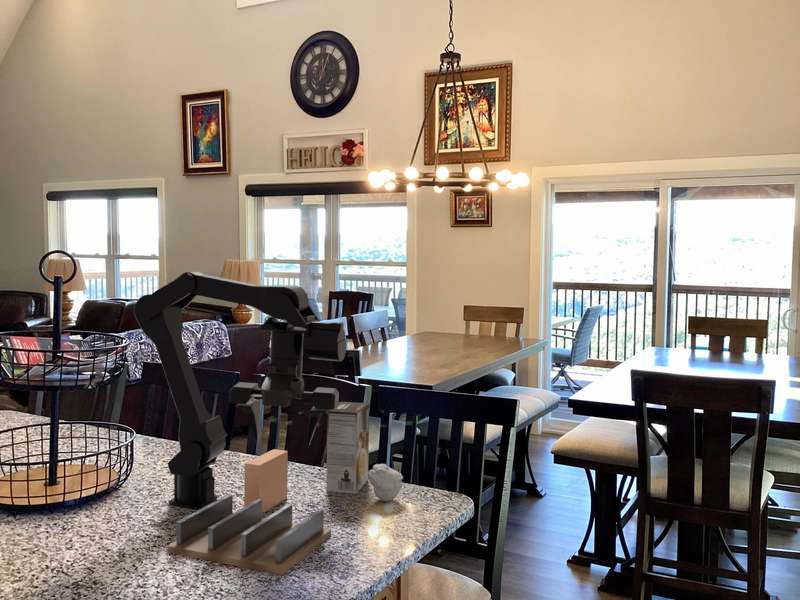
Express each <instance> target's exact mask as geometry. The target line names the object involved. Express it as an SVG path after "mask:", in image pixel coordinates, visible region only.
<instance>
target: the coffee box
mask: <svg viewBox="0 0 800 600" xmlns="http://www.w3.org/2000/svg"><path fill="white" fill-rule="evenodd" d="M326 414H327V415H326V416H327V417H326V419H327V420H326V425H327V427H326V490H325V491H326V492H330V493H341V494H342V493H344V494H354V495H355V494H356V493H357V494H358V492H360V490H361V489H362V488H363V486H365V484H366V483H367V481H369V480H368V476H369V475H368V474H367V472H369V446H370V445H369V444H370V441H369V438H370V437H369V436H370V433H369V432H370V402H369V403H368V402H354V401H353V402H352V401H339V403H338V405H337V406H336V408H335V409H333V410H329V411H328V413H326ZM357 494H356V495H357Z"/></svg>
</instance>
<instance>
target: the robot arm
mask: <svg viewBox="0 0 800 600" xmlns="http://www.w3.org/2000/svg"><path fill="white" fill-rule="evenodd" d="M198 296H200V297H206V298H208V299H215V300H220V301H224V302H231V303H234V304H239V305H244V306H249V307H251V308H254V309H256V310H257V311H259V312H261V313H263V314H265V315H267V316H269V317H267V320H266V321H265V322H263V323H262V324H261V325H260V326H259V327H258V328H259V330H260V331H269V332H270V344H269V345H270V349H269V363H268V369H267V370H268V371H267V374H266V377H265V378H264V381H263V383H262V385H261V387H260V386H259V383H256V382H240V381H239V382H237V383H236V384H235V385H233V386H232V387H231V388H229V391H228V403H230V404H235V407H236V409H240V410H242V412H244V414H245V416H246V417H247V420H248V422H249V425H250V429H251V432H252V436H253V438H254V441H255V443H258V442H259V441H260V435H261V418H260V417H261V404H262V406H265V407H270V406H275V407H280V408H287V407H290V405H291V403H292V402H295V403H296V402H298V403H310V404H311V405H312V408H311V409H310V410H309V420H308V426H307V435H306V446H310V445H311V443H312V442H311V441H312V439H313V437H314V435H315V431H316V428H317V426H318V424H319V421H320V419H321V417H322V415H325V414H327V413H328V411H329V410H333V409H335V408H336V406H337V405H338V403H339V402H340V401H339V399H340V398H339V397H340V391H338V389H337V388H332V387H316V388H315V389H314V390H313V391H305V381H304V378H303V356H304V355H306V356H308V358H309V359H310V360H319V361H320V360H322V361H332V362H333V361H334V362H343V361H344V359H345V356H346V352H347V346H348V345H347V344H348V339H347V336H346V331H345V329H344V325H345V324H344V322H343V321H332V322H329V321H321V320H320V319H319V318H318V316H317V314H316V313H315V311H314V310H313V308H312V307H311V305H310V302H309V301H310V300H309V296H308V294H307V292H306V291H305V288H302V287H301V286H299V285H291V284H290V285H287V284H285V285H284V284H283V285H282V284H281V285H280V284H278V285H277V284H276V285H275V284H274V285H272V284H271V285H269V284H268V285H267V284H266V285H263V284H262V285H260V284H254V283H249V282H245V281H240V280H239V281H238V280H234V279H230V278H225V277H221V276H219V277H218V276H215V275H210V274H205V273H202V272H201V271H187V272H183V273H181V274H180V275H179V276H177V278H176V279H174V280H172V281H171V282H169V283H167V284H165V285H163V286H161V287H160V288H158V289H156V290H155V291H153V292H152V293H150V294H144V295H142V296H140V297H139V298H138V300H137V301H136V303H135V305H134V306H133V313H134V314H133V315H134V318H135V319H136V321H137V323H138V325H139V326H140V329H141V330H142V332H143V334H145V336H146V337H147V338H148V339H149V340H150V341H151V342H152V344H154V347H155V348H156V351H157V354H158V358H159V361H160V363H161V367H162V369H163V371H164V375H165V379H166V380H167V384H168V387H169V390H170V393H171V397H172V399H173V401H174V404H175V409H176V410H177V411H176V412H177V414H178V418H179V428H178V436H177V437H178V442H179V443H178V444H179V449H180V450H179V451H178V452H177V453H176V454H175V455H174V456H173V457H172V458H171V459H170V460H169V461H168V462H167V466H168V470H169V473H170V475H173V478H174V479H173V497H174V498H172V499H170V500H168V504H169V505H172V506H178V507H184V508H189V509H198V510H199V509H201V507H202V508H203V507H205V506H207V505H209V504H211V503H212V502H214V501H216V500H218V498H219V497H218V495H217V494H215V481H216V480H215V479H216V478H215V476H213V475H214V474H213V473H214V469H213V467H210V466H212V465H214V464H216V461H217V459H218V456H220V455H221V454H222V453H223V451H224V449H225V448H226V444H227V440H226V437H227V436H228V433H227V432H226V431H225V430H226V429H225V428H224V425H223V420H222V417H221V415H216V416H214V417H213V416H212V415H211V413H210V412H209V411H208V410H207V409H206V407H205V403H204V401H203V397H202V394H201V392H200V388H199V385H198V382H197V378H196V377H195V373H194V371H193V368H192V364H191V362H190V358H189V356H188V352H187V349H186V347H185V343H184V340H183V337H182V334H183V328H184V327H183V326H184V317H183V312H182V310H184V309H185V308H186V307H188V306H189V305H191V303H192V301H194V300H195V298H196V297H198Z"/></svg>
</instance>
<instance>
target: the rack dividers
mask: <svg viewBox="0 0 800 600" xmlns="http://www.w3.org/2000/svg"><path fill="white" fill-rule="evenodd" d="M233 496H234V495H233V494H231V493H227V495H224V496H222V497H221V498H219V499H216V500H214V501H212V502H210V503H208V504H206V505H205V506H203V507H202V508H199V509H198V510H197V511H195V512H193V513H190V514H188V515H187V516H184V517H183V518H181V519H179V520H177V521H175V522H176V525H175V527H176V528H175V529H176V534H175V535H176V537H175V538H176V540H175V541H176V544H178V545H182V544H183V543H185V542H187V541H189V540H190V539H192V538H194V537H195V536H197V535H199V534H201V533H202V532H204V531H206V530H207V529H208V550H209V551H214V550H216V549H217V548H219V547H220V546H222V545H223V544H225V543H226V542H228V541H230V540H231V539H233V538H234V537H236V536H237V535H239V534H240V533H242V532H243V533H242V534H241V557H244V558H246V557H248V556H249V555H250V554H252V553H253V552H255V551H256V550H258V549H259V548H260V547H262V546H263V545H265V544H266V543H267V542H269V541H270V540H272V539H273V538H275V537H276V536H277V535H279V534H280V533H282V532H283V531H284V530H286V529H287V528H289V527H290V526H292V523H293V504H291V503H288V504H285V505H284V506H282V507H280V508H279V509H278V510H276V511H275V512H273V513H271V514H270V515H268V516H266V517H264V518H265V519H264V520H262V517H263V515H262V514H263V513H262V500H261V499H257V500H255V501H253V502H252V503H250V504H248V505H247V506H245V507H244V506H243V507H242V508H239V509H238V510H236V511H235V512H233ZM232 512H233V514H232ZM324 514H325V509H324V508H318V509H317V510H316V511H314V512H313V513H311V514H310V515H309V516H307V517H306V518H304V519H303V520H301V521H300V522H298V524H297V525H296V526H295V527H293V528H292V529H290V530H289V531H288V532H286V533H285V534H283V535H282V536H281V537H279V538H278V539H276V555H275V564H281V563H283V562H284V561H285V560H287V559H288V558H289V557H290V556H292V555H293V554H294V553H295V552H297V551H298V550H299V549H301V548H302V547H303V546H304V545H306V544H307V543H308V542H309V541H311V540H312V539H313V538H315V537H316V536H317V535H318V534H320V533H321V532H322V531H323V530H324V528H325V526H324V521H325V517H324V516H325V515H324ZM261 520H262V521H261ZM259 521H261V522H259ZM258 522H259V523H258ZM256 523H257V524H256ZM255 524H256V525H255ZM253 525H254V526H253ZM251 526H253V527H251ZM250 527H251V528H250ZM248 528H250V529H248ZM247 529H248V530H247ZM245 530H247V531H245ZM244 531H245V532H244Z"/></svg>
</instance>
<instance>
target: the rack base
mask: <svg viewBox="0 0 800 600" xmlns="http://www.w3.org/2000/svg"><path fill="white" fill-rule="evenodd" d="M233 513H234V512H233V511H232V514H233ZM265 518H266V517H263V516H262V520H264V519H265ZM262 520H261V521H262ZM261 521H259V522H261ZM259 522H258V523H259ZM256 524H257V523H256ZM256 524H255V525H256ZM297 524H299V522H298V523H296V522H292V526H290V527H289V528H287V529H286V530H284V531H283V532H282V533H280V534H279V535H277V536H276V537H275V538H273V539H272V540H270V541H269V542H267V543H266V544H265V545H263V546H262V547H260V548H259V549H258V550H256V551H255V552H253V553H252V554H250V555H249V556H248V557H246V558H244V557H241V534H242V533H243V532H242V533H240V534H239V535H237V536H236V537H234V538H233V539H231V540H230V541H228V542H226V543H225V544H223V545H222V546H220V547H219V548H217V549H216V550H214V551H209V550H208V529H207V530H206V531H204V532H202V533H201V534H199V535H197V536H195V537H194V538H192V539H190V540H189V541H187V542H185V543H183V544H182V545H178V544H176V540H174V541H173V542H172V543H170V544H168V545H167V547H166V548H167V549H166V550H167V553H170V554H176V555H180V556H184V557H189V558H194V559H195V558H196V559H200V560H205V561H210V562H216V563H219V564H220V563H221V564H225V565H228V566H229V565H230V566H236V567H240V568H243V569H244V568H246V569H250V570H255V571H261V572H266V573H270V574H275V575H280V576H283V575H284V574H286V573H287V571H289V570H290V569H292V567H294V566H295V565H297V564H298V563H299V562H300V561H301V560H303V559H304V558H305V557H307V555H309V554H311V552H313V550H315V549H316V548H317V547H318V546H319V545H321V544H322V543H323V542H324V541H326V540H327V539H328V538H329V537H330V536H331V535H332V529H331V528H325V527H324V530H323V531H322V532H321V533H320V534H318V535H317V536H316V537H315V538H313V539H312V540H311V541H309V542H308V543H307V544H306V545H304V546H303V547H302V548H301V549H299V550H298V551H297V552H295V553H294V554H293V555H292V556H290V557H289V558H288V559H287V560H285V561H284V562H283V563H281V564H275V555H276V539H278V538H279V537H281V536H282V535H283V534H285V533H286V532H288V531H289V530H290V529H292V528H293V527H295V526H296V525H297ZM253 526H254V525H253ZM253 526H251V527H253ZM251 527H250V528H251ZM250 528H248V529H250ZM248 529H247V530H248ZM247 530H245V531H247ZM245 531H244V532H245Z"/></svg>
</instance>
